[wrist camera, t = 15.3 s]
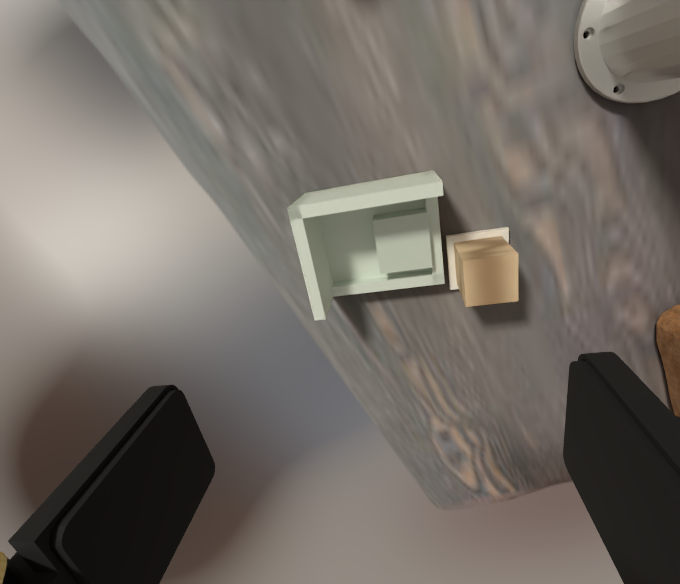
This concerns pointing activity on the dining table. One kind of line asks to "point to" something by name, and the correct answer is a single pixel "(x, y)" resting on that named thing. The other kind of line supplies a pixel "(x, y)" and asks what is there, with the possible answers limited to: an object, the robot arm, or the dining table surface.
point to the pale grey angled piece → (369, 237)
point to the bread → (671, 352)
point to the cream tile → (466, 237)
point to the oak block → (486, 271)
